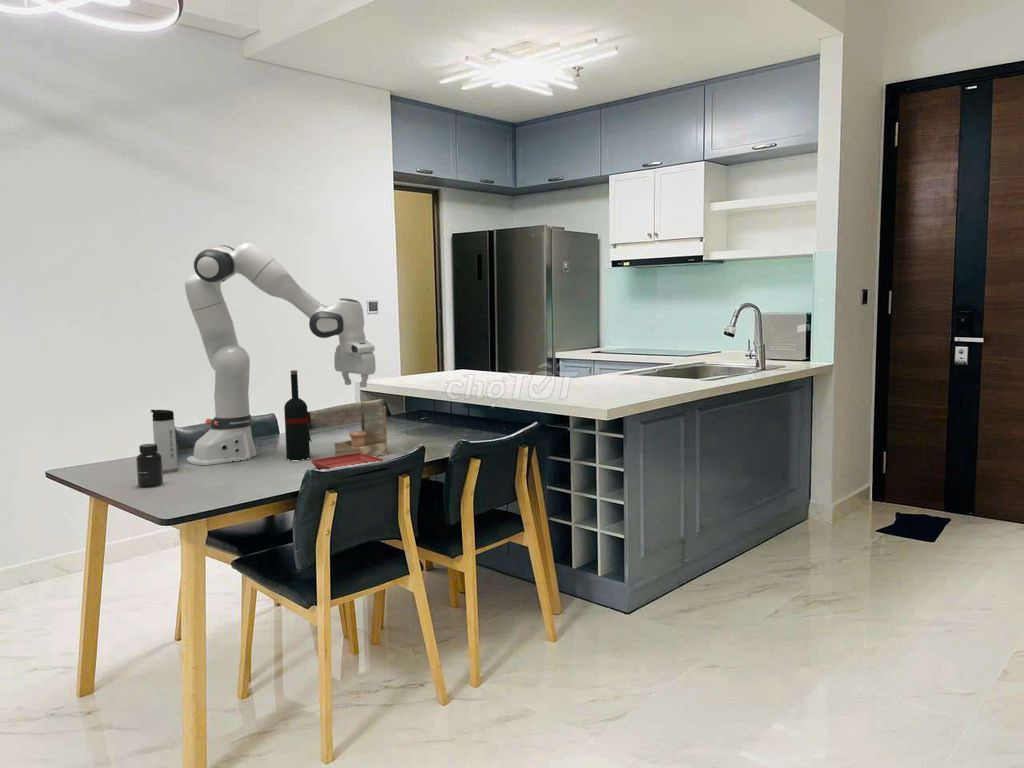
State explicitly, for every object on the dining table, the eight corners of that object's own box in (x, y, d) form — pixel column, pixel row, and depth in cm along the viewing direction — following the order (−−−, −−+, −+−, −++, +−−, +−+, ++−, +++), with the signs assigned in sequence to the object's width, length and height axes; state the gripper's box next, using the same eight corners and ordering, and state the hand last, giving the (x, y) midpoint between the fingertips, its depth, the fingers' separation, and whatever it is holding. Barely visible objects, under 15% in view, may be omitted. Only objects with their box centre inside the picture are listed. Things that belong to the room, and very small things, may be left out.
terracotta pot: (356, 457, 260) (355, 434, 259) (347, 455, 264) (345, 432, 263) (370, 454, 264) (369, 431, 263) (361, 452, 268) (360, 429, 267)
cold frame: (357, 460, 255) (355, 410, 253) (335, 454, 265) (333, 406, 263) (387, 454, 264) (385, 406, 262) (364, 449, 274) (362, 402, 272)
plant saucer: (359, 461, 256) (359, 451, 255) (388, 470, 242) (388, 459, 242) (309, 470, 244) (309, 460, 243) (337, 479, 230) (336, 469, 230)
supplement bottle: (137, 488, 222) (134, 448, 221) (138, 483, 229) (135, 444, 227) (163, 486, 225) (160, 445, 224) (163, 481, 231) (160, 442, 230)
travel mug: (155, 470, 246) (150, 408, 244) (177, 468, 249) (173, 407, 246) (154, 474, 240) (150, 411, 238) (177, 472, 243) (173, 409, 240)
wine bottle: (319, 455, 263) (315, 369, 260) (299, 461, 254) (294, 372, 251) (302, 454, 267) (298, 368, 263) (281, 459, 258) (276, 371, 254)
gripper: (328, 345, 267) (331, 384, 269) (361, 348, 253) (364, 389, 255) (343, 343, 271) (346, 382, 274) (377, 346, 257) (380, 387, 259)
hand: (355, 385), depth 264 cm, fingers open, 8 cm apart
